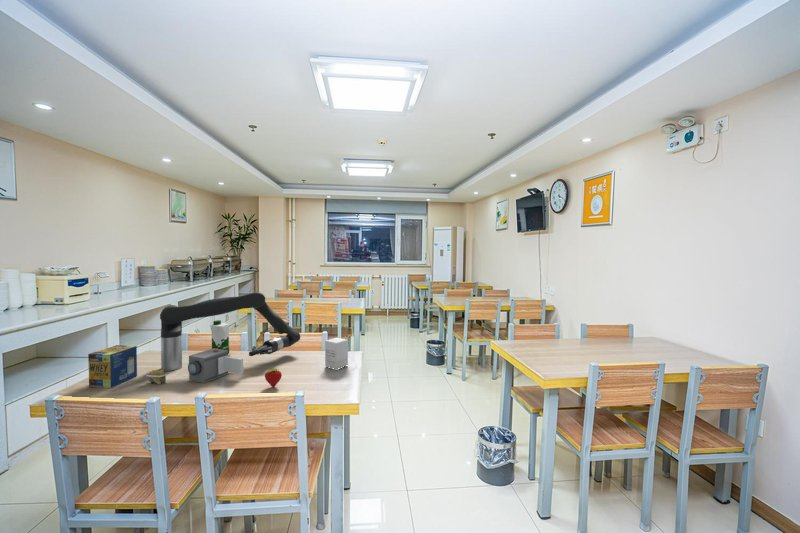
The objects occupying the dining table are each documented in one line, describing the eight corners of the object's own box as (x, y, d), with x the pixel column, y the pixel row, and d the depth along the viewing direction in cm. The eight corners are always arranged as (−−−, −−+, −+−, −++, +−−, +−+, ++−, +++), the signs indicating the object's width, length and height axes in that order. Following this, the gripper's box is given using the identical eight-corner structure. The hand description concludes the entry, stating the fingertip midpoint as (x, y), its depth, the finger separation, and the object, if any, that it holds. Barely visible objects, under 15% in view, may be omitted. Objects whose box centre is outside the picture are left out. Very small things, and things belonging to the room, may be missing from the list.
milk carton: (219, 351, 215) (218, 319, 214) (232, 352, 213) (231, 320, 213) (208, 355, 207) (208, 322, 206) (222, 356, 205) (221, 322, 204)
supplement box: (336, 363, 195) (336, 337, 194) (348, 366, 190) (348, 339, 189) (324, 367, 187) (324, 340, 187) (336, 371, 182) (336, 343, 182)
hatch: (236, 377, 165) (236, 361, 165) (217, 374, 169) (217, 358, 169) (247, 373, 172) (247, 357, 172) (229, 370, 176) (229, 354, 176)
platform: (165, 390, 155) (164, 376, 155) (127, 388, 156) (126, 374, 156) (183, 380, 167) (183, 367, 167) (147, 379, 168) (147, 366, 168)
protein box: (88, 387, 156) (87, 353, 156) (117, 375, 172) (117, 344, 171) (110, 388, 156) (109, 354, 155) (137, 376, 171) (137, 345, 171)
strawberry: (279, 389, 157) (279, 367, 156) (262, 389, 157) (262, 367, 156) (283, 384, 163) (283, 363, 162) (267, 384, 163) (267, 363, 162)
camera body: (200, 385, 161) (200, 358, 160) (184, 382, 164) (184, 355, 164) (229, 373, 176) (228, 348, 176) (213, 371, 180) (213, 346, 179)
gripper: (263, 337, 197) (240, 345, 181) (282, 339, 192) (260, 348, 176) (263, 350, 197) (240, 359, 181) (282, 353, 193) (260, 362, 177)
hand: (250, 354), depth 179 cm, fingers closed
